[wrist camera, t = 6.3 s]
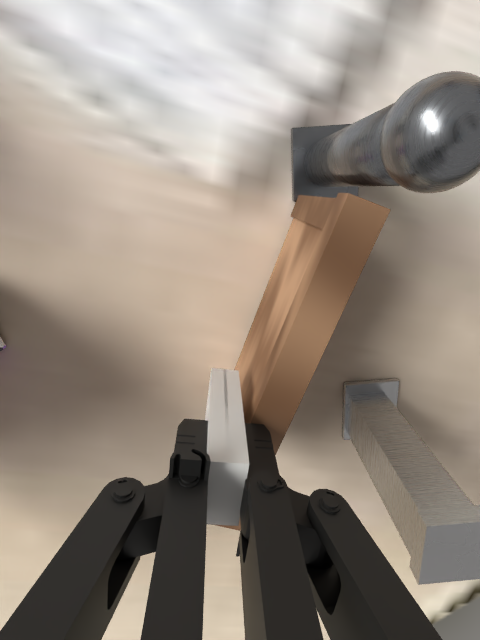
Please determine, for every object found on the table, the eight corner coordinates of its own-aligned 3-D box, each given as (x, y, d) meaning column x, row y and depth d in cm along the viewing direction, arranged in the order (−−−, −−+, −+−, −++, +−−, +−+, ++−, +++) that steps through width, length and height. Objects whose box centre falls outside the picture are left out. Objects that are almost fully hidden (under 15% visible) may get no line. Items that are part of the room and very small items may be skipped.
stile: (396, 378, 25) (516, 509, 15) (391, 431, 26) (497, 584, 16) (343, 382, 25) (428, 517, 15) (342, 436, 26) (417, 592, 16)
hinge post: (358, 124, 19) (569, 25, 8) (355, 195, 21) (533, 206, 9) (291, 129, 19) (398, 36, 8) (292, 200, 21) (386, 216, 9)
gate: (300, 191, 20) (349, 193, 12) (326, 201, 20) (390, 209, 13) (212, 418, 25) (207, 523, 17) (234, 424, 25) (239, 530, 17)
